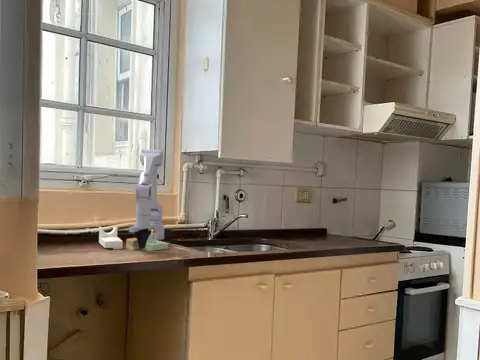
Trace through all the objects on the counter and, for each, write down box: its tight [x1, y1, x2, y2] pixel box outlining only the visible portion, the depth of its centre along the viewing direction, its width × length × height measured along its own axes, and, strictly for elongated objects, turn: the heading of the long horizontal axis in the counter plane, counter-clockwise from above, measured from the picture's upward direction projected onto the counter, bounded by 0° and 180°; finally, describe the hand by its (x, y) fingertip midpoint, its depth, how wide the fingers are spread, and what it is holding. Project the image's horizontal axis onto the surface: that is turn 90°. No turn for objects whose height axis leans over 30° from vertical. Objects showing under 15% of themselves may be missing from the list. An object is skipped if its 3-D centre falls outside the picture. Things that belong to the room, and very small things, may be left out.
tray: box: [144, 240, 169, 251], centre depth 194 cm, size 8×9×2 cm
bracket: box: [98, 226, 123, 250], centre depth 193 cm, size 13×7×8 cm, turn 27°
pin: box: [151, 230, 157, 244], centre depth 194 cm, size 2×2×7 cm
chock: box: [125, 237, 142, 251], centre depth 190 cm, size 4×5×4 cm
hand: (141, 248), depth 186 cm, fingers closed
